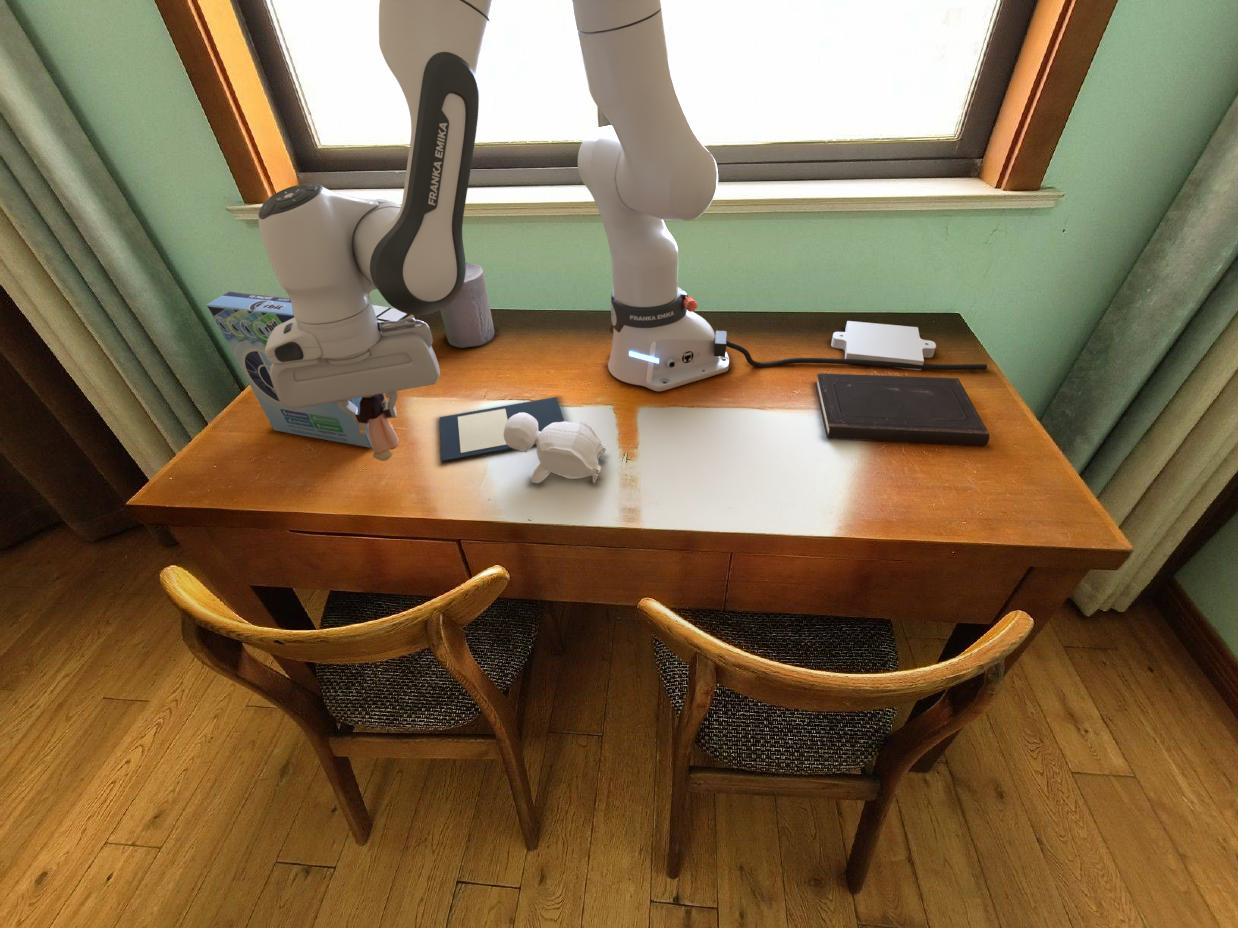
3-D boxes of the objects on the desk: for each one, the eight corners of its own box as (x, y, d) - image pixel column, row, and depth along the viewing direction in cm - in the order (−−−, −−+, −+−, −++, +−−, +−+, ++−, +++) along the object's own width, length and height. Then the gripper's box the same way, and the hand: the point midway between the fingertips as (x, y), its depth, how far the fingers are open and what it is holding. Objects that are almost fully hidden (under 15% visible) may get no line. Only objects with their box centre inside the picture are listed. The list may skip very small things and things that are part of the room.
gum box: (388, 431, 98) (341, 301, 83) (369, 450, 94) (316, 318, 80) (292, 414, 103) (231, 289, 88) (271, 432, 99) (204, 303, 85)
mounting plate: (830, 360, 110) (832, 351, 109) (832, 328, 119) (833, 319, 118) (936, 372, 106) (939, 362, 104) (929, 337, 115) (932, 328, 114)
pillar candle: (472, 322, 128) (457, 252, 118) (504, 333, 123) (492, 262, 113) (437, 340, 122) (418, 269, 112) (470, 353, 117) (453, 280, 107)
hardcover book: (814, 384, 104) (817, 372, 103) (954, 389, 101) (958, 378, 100) (827, 440, 92) (829, 428, 91) (985, 448, 89) (990, 436, 88)
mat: (556, 399, 104) (556, 396, 103) (569, 439, 95) (569, 436, 94) (440, 419, 100) (439, 416, 100) (442, 463, 91) (441, 460, 91)
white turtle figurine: (597, 466, 94) (507, 432, 93) (614, 427, 89) (519, 390, 87) (586, 503, 88) (489, 467, 86) (604, 464, 82) (501, 425, 81)
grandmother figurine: (395, 464, 83) (369, 388, 75) (367, 466, 83) (338, 389, 75) (405, 431, 89) (382, 357, 81) (379, 433, 89) (354, 359, 81)
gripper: (426, 305, 78) (451, 393, 87) (260, 330, 75) (304, 419, 84) (426, 326, 73) (452, 417, 82) (249, 355, 70) (297, 446, 79)
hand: (376, 418), depth 83 cm, fingers closed on grandmother figurine, 3 cm apart
